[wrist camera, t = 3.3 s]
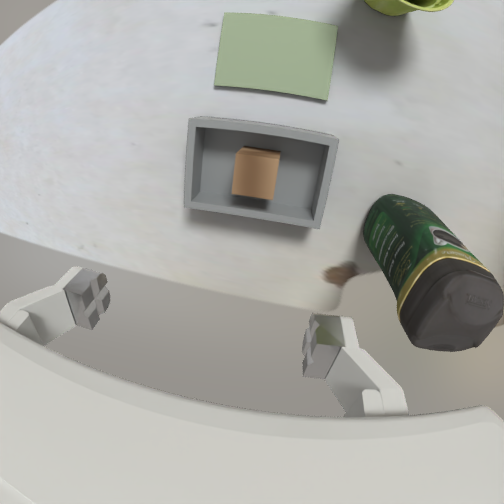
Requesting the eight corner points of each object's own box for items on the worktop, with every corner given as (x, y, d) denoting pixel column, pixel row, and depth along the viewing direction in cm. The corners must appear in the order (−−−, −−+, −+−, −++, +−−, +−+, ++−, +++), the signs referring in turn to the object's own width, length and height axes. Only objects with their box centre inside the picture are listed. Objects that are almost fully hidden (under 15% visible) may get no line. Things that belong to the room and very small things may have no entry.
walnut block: (280, 151, 29) (279, 159, 25) (275, 185, 31) (272, 200, 27) (244, 145, 29) (235, 153, 25) (239, 180, 31) (231, 193, 27)
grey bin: (332, 135, 28) (339, 139, 25) (316, 215, 33) (319, 229, 29) (200, 116, 29) (188, 118, 25) (194, 195, 34) (183, 207, 30)
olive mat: (337, 27, 22) (337, 26, 21) (326, 100, 26) (327, 100, 26) (225, 13, 22) (224, 12, 22) (215, 85, 27) (214, 85, 26)
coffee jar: (353, 242, 34) (393, 360, 18) (376, 184, 30) (452, 273, 14) (415, 261, 34) (472, 367, 18) (439, 209, 30) (524, 298, 14)
